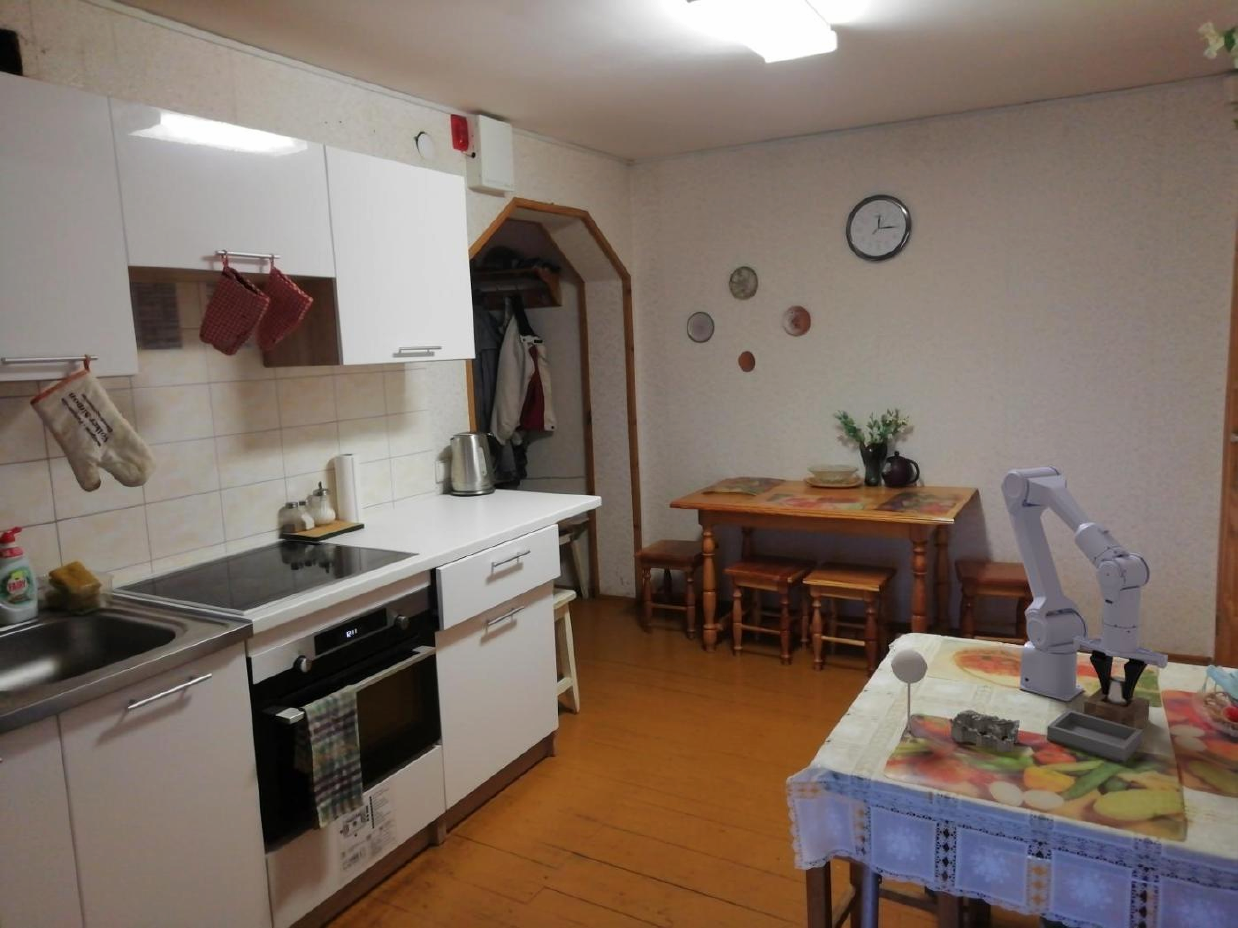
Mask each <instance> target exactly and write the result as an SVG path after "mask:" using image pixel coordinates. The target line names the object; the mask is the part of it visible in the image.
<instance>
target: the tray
mask: <svg viewBox="0 0 1238 928" xmlns="http://www.w3.org/2000/svg"><path fill="white" fill-rule="evenodd" d="M1046 727H1047V728H1046V729H1047V730H1046V739H1047V740H1046V741H1049V742H1052V743H1056V744H1059V745H1063V746H1066V747H1068V748H1071V749H1075V750H1079V751H1082V752H1084V753H1085V752H1086V753H1089V754H1092V755H1095V756H1099V757H1102V758H1105V759H1109V760H1112V761H1114V762H1118V763H1121V764H1124V763H1126V762H1127V761H1128V759H1130V758H1131V757H1132V755H1134V753H1135V752H1136V751H1138V749H1139V748H1140V747H1141V746H1142V745H1143V735H1144V730H1143V729H1137V728H1133V727H1129V726H1126V725H1122V724H1119V723H1115V722H1111V721H1108V720H1104V719H1100V718H1097V717H1093V716H1090V715H1086V714H1084V713H1082V712H1078V711H1074V710H1072V709H1071V710H1070V709H1067V710H1066V711H1064V712H1063V713H1062V714H1061V715H1059V716H1058V717H1057V718H1056V719H1054V720H1053V721H1052V722H1051V723H1049V724H1048V725H1047V726H1046Z"/></svg>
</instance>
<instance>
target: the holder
mask: <svg viewBox="0 0 1238 928" xmlns="http://www.w3.org/2000/svg"><path fill="white" fill-rule="evenodd" d="M1107 696H1108V694H1107V695H1104V694H1102V689H1101V687H1100V688H1098V689H1097V690H1096V692H1094V693H1093V694H1091V695H1090V696H1089V697H1087V699H1085V700H1084V701H1083V703H1084V707H1083V708H1084V710H1083V714H1086V715H1090V716H1093V717H1097V718H1100V719H1104V720H1108V721H1111V722H1115V723H1119V724H1122V725H1126V726H1129V727H1133V728H1137V729H1140V730H1142V728H1143V727H1144V726H1146V724H1147V723H1148V722H1149V721H1150V719H1149V718H1150V701H1151V700H1150V699H1147V698H1143V697H1139V696H1135V695H1133V697H1132V698H1131V699H1130V700H1129V701H1127V707H1126V708H1125V707H1121V706H1117V705H1113V704H1110V703H1107Z"/></svg>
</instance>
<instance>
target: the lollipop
mask: <svg viewBox="0 0 1238 928" xmlns="http://www.w3.org/2000/svg"><path fill="white" fill-rule="evenodd" d="M890 667H891V669H892V672H893V675H894V676H895V677H896V679H898V680H899V681H900V682H903V683H905V684H907V715H906V716H907V719H906V720H907V721H906V722H907V725H906V726H907V731H908V732H910V730H911V684H915V683H918V682H920V681H921V680H922V679H924V677H925V676H926V674H927V671H928V669H929V668H928V663H927V662H926V660H925V658H924V656H922V654H920V652H918V651H915V650H913V649H903V650H902V649H901V650H900V651H898V652H897V653H896V654H895V655H894V656H893V658H892V660H891V663H890Z"/></svg>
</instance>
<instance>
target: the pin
mask: <svg viewBox="0 0 1238 928" xmlns="http://www.w3.org/2000/svg"><path fill="white" fill-rule="evenodd" d="M1124 691H1125V677H1123V676H1117V675H1113V676H1112V675H1111V676H1110V677H1109V678H1108V696H1107V703H1110V704H1113V705H1117V706H1121V707H1125V708H1126V707H1127V700H1124Z"/></svg>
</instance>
